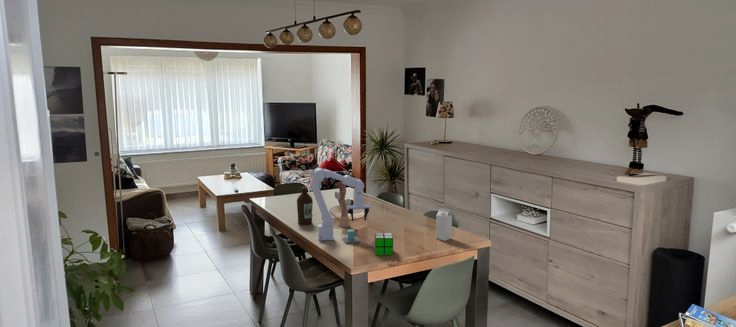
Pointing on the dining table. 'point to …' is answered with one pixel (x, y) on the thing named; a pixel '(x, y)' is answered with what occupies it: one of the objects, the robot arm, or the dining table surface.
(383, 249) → the puzzle cube
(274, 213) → the dining table surface
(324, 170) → the robot arm
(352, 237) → the teal block
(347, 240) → the gray block
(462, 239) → the dining table surface
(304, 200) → the olive oil
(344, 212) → the brown statue
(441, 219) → the milk carton
